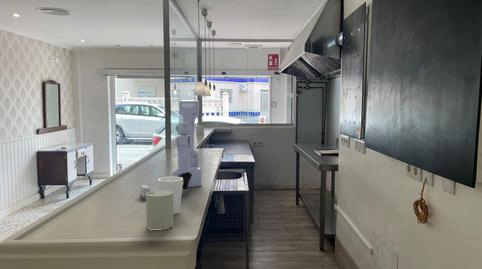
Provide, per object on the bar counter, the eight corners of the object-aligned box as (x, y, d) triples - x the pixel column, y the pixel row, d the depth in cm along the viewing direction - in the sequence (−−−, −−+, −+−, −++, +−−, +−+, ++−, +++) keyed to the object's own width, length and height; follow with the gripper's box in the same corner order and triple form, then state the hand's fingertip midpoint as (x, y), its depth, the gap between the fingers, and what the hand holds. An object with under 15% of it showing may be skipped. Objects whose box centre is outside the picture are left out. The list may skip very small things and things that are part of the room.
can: (148, 222, 125) (148, 188, 124) (175, 221, 126) (174, 188, 125) (143, 231, 116) (143, 195, 115) (172, 230, 117) (171, 194, 116)
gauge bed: (178, 191, 171) (177, 180, 171) (184, 195, 162) (184, 184, 162) (140, 195, 163) (139, 184, 162) (144, 200, 154) (144, 189, 154)
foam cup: (162, 208, 142) (161, 176, 141) (185, 208, 142) (184, 176, 141) (155, 215, 132) (155, 181, 131) (180, 216, 132) (180, 181, 131)
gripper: (187, 157, 175) (187, 185, 176) (167, 161, 162) (167, 191, 163) (198, 158, 171) (199, 186, 172) (179, 163, 159) (179, 193, 160)
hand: (184, 189), depth 167 cm, fingers closed
